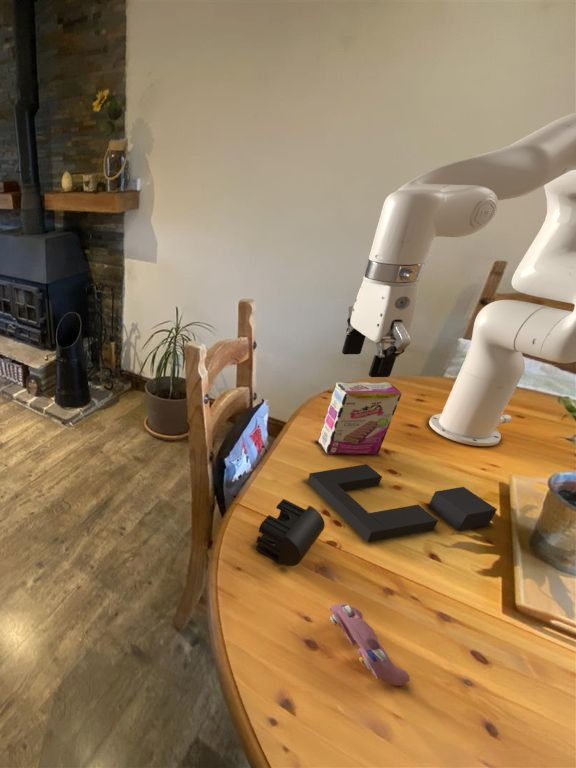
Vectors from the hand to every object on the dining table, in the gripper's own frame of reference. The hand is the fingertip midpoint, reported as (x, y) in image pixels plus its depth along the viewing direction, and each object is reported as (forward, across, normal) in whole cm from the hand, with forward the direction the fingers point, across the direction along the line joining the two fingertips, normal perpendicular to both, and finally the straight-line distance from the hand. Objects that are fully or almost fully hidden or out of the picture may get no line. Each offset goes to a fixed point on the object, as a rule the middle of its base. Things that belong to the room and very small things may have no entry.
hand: (363, 364), depth 77 cm
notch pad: (+26, -9, -3) cm, 28 cm away
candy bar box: (+26, +9, -8) cm, 29 cm away
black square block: (+26, -11, -17) cm, 33 cm away
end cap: (+26, -20, +16) cm, 37 cm away
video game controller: (+26, -38, +12) cm, 48 cm away
